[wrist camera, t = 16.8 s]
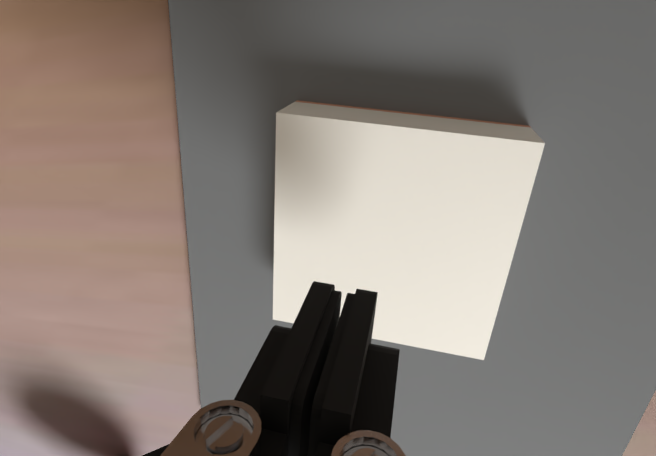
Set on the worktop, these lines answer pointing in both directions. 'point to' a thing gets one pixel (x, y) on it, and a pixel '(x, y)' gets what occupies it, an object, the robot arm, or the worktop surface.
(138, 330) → the worktop surface
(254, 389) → the robot arm
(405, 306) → the tile
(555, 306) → the mat
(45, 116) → the worktop surface
